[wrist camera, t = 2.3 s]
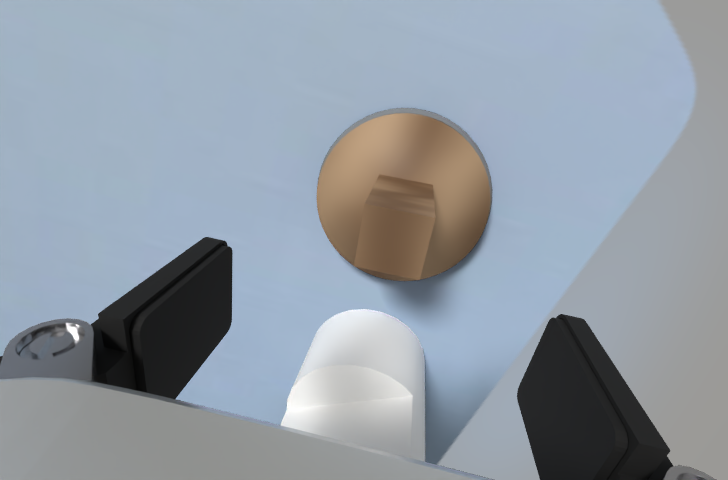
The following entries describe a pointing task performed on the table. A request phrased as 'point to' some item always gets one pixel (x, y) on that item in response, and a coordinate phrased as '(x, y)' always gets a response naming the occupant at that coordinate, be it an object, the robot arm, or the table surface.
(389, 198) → the lid
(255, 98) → the table surface
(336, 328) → the base with upright slab
